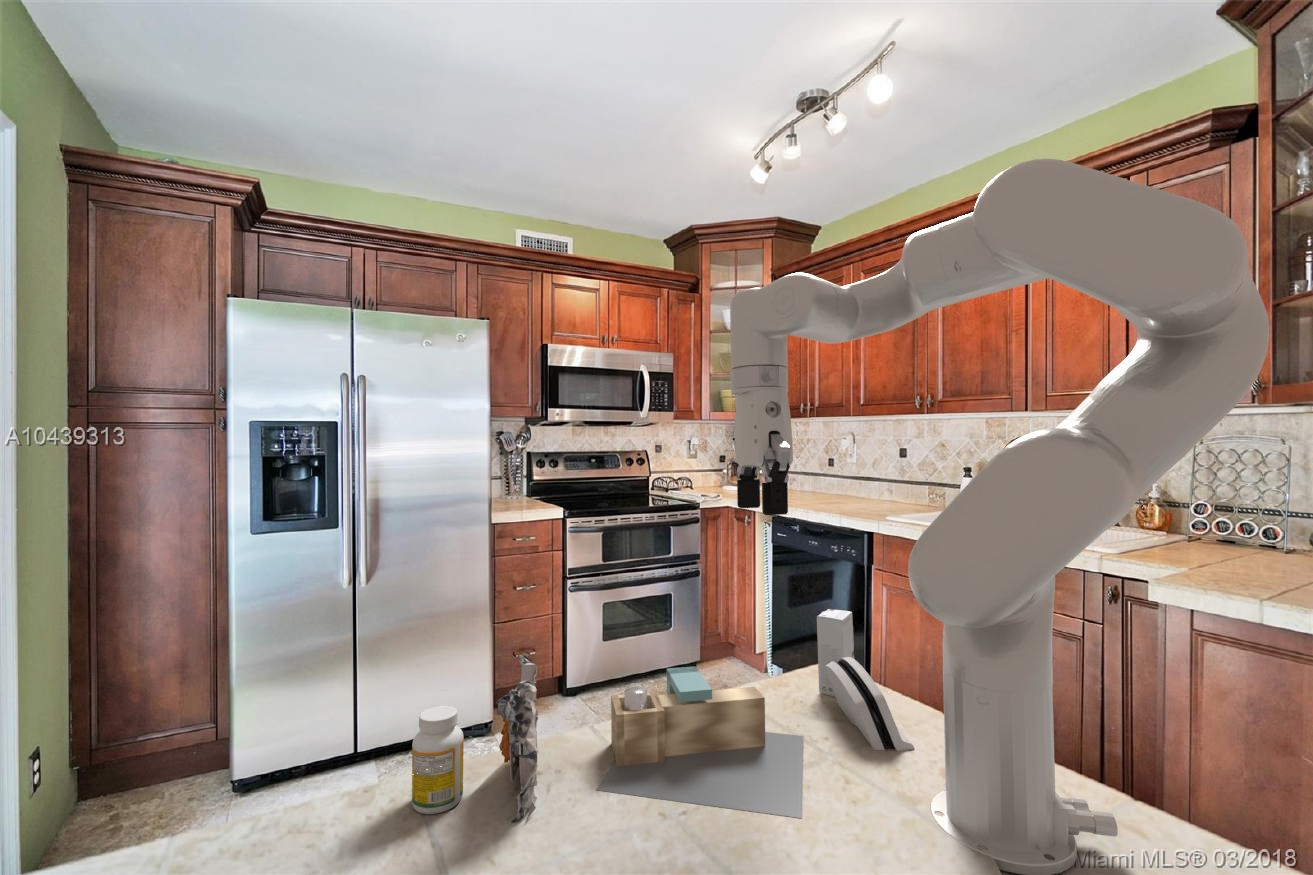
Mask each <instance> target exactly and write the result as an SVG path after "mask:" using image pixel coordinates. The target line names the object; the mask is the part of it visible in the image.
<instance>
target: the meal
mask: <svg viewBox="0 0 1313 875" xmlns="http://www.w3.org/2000/svg"><path fill="white" fill-rule="evenodd" d="M517 657H518V662H519V664H520V665H521V674H520V675H521V678H520V681H519V682H517V686H516V687H515V688H512V689H511V690H509V692H508V693H507V694H506V695H504V696H502V697H500V698H498V700H497V701H495V708H496V713H497V715H498V716H500V717H502V722H503V723H504V724H503V727H502V730H500V734H501V735H502V736H501V740H500V743H499V750H500V751H501V756H503V757H504V760H503V761H504V762H503V763H504V764H505V763H509V772H510V780H511V782H514V780H515V778H516V775H517V772H518V770H519V777H520V778H519V779H520V793H519V794H517V795H516V799H517V812H516V813H517V815H516V816H515V817H514V819H512V820H511V821H510V822H511V823H517V821H518V820H519V819H521V818H524V817H525V815H526V812H528V814H527V817H526V820H525V821H527V820H528V819H529V818H530V816H531V815H532V814H533V813H534V811H535V810H536V809H537V807H536V805H535V804H536V803H537V802H536V801H537V799H538V797H537V796H536V794H535V787H537V786H538V781H537V780H538V779H537V778H538V777H537V768H538V764H537V763H538V752H539V750H538V749H539V748H538V740H537V739H538V737H537V723H538V720H539V718H538V716H539V712H538V710H537V706H536V702H537V701H538V700H537V693H538V692H537V691H538V690H537V688H536V687H537V686H536V684H537V683H538V682H537V680H536V679H537V676H538V674H537V673H538V664H535V663H533V660H532V659H531V658H529V657H527V656H526V655H521V654H518V655H517Z"/></svg>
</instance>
